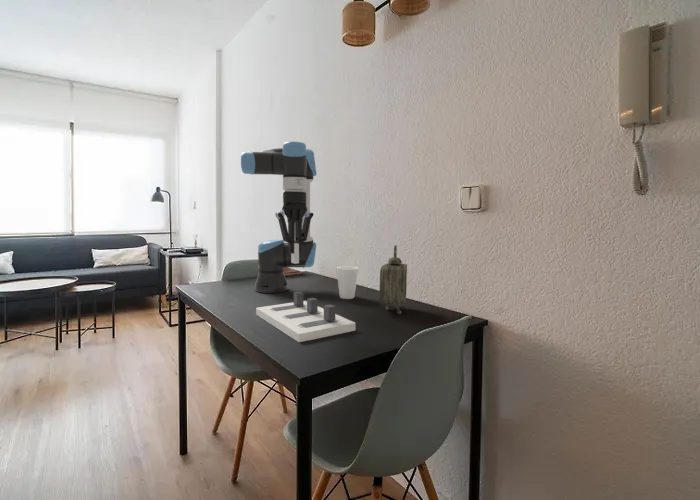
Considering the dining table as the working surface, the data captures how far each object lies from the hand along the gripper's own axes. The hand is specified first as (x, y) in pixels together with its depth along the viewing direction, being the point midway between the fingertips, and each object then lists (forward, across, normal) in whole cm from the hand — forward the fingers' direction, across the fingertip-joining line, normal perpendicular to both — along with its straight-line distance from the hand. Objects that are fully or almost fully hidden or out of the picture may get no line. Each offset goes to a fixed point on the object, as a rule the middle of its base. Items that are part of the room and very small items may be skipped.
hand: (295, 262), depth 127 cm
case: (+22, +35, +92) cm, 101 cm away
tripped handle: (+17, +6, -1) cm, 18 cm away
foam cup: (+21, +35, +21) cm, 46 cm away
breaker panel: (+20, +2, -1) cm, 21 cm away
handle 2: (+17, +6, -12) cm, 22 cm away
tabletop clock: (+21, +38, -6) cm, 44 cm away
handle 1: (+18, +6, +10) cm, 21 cm away
